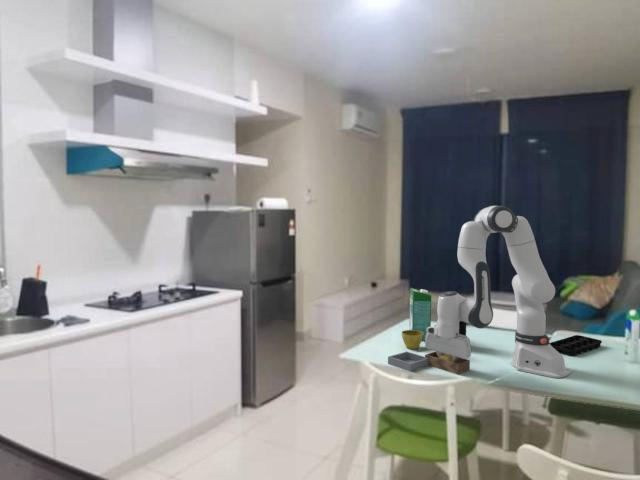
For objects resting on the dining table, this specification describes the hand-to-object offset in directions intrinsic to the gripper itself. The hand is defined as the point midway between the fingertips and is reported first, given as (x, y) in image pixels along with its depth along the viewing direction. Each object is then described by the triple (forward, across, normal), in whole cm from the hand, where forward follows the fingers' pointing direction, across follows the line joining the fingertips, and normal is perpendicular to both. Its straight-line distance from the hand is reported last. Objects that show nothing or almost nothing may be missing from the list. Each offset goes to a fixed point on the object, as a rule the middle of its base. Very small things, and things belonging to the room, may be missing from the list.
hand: (446, 364), depth 196 cm
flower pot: (+2, +28, -12) cm, 31 cm away
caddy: (+2, 0, 0) cm, 2 cm away
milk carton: (+2, +37, -29) cm, 47 cm away
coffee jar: (+2, +17, -30) cm, 35 cm away
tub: (+2, +12, +10) cm, 16 cm away
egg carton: (+2, -21, -72) cm, 75 cm away
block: (+1, 0, 0) cm, 1 cm away
